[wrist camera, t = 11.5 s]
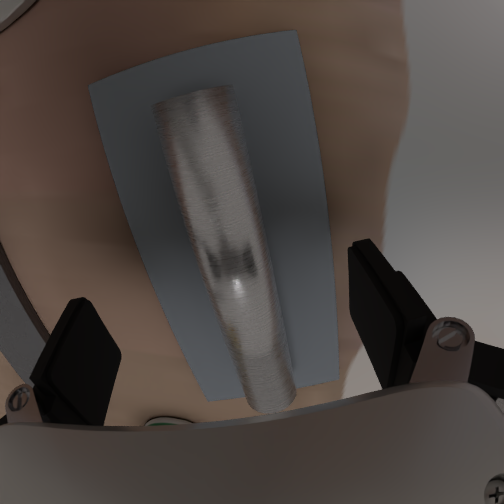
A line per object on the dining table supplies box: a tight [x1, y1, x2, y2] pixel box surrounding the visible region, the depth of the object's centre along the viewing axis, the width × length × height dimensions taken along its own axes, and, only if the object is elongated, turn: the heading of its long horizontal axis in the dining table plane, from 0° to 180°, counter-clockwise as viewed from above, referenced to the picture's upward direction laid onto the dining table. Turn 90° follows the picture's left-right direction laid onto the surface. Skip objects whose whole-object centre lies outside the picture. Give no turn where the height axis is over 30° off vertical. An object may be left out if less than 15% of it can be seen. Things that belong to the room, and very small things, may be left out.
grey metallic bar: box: [151, 85, 296, 413], centre depth 14 cm, size 16×3×3 cm, turn 12°
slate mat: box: [88, 30, 339, 401], centre depth 15 cm, size 20×9×1 cm, turn 12°
